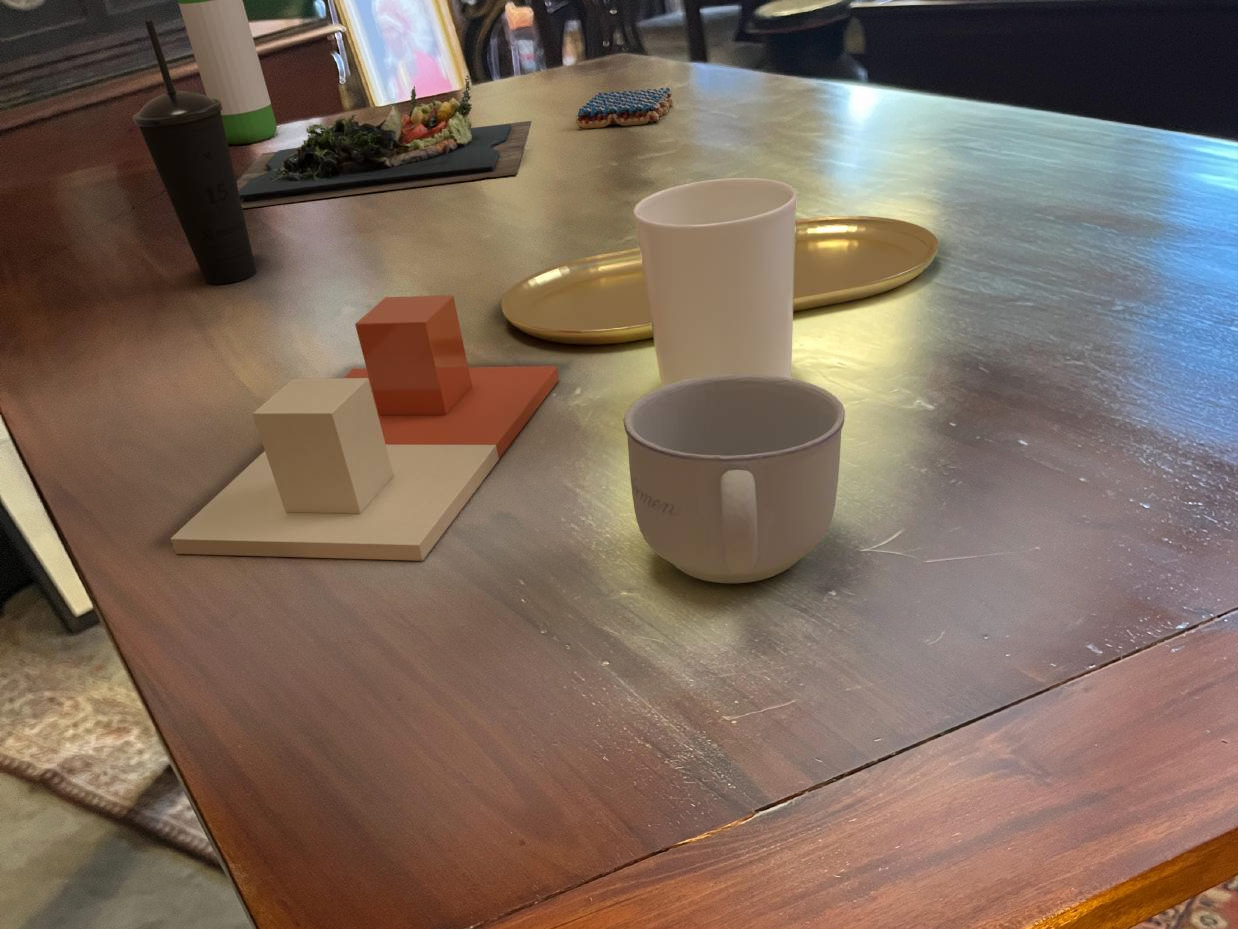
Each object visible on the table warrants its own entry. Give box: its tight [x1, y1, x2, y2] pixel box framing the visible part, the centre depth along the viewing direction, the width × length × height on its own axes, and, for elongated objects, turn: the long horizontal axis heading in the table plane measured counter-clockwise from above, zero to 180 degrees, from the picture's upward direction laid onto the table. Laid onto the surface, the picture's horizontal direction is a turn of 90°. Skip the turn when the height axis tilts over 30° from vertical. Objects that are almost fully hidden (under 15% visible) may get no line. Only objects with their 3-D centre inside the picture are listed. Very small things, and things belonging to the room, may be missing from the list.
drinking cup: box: [132, 19, 257, 286], centre depth 107 cm, size 8×8×20 cm
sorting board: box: [169, 365, 560, 562], centre depth 78 cm, size 16×26×1 cm, turn 166°
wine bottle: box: [177, 0, 277, 146], centre depth 151 cm, size 8×8×30 cm
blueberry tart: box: [574, 87, 674, 129], centre depth 146 cm, size 10×11×2 cm
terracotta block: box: [354, 294, 472, 415], centre depth 81 cm, size 5×5×6 cm
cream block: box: [252, 377, 394, 514], centre depth 71 cm, size 5×5×6 cm
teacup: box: [622, 374, 846, 584], centre depth 61 cm, size 14×11×8 cm
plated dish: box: [236, 74, 532, 209], centre depth 140 cm, size 35×28×7 cm
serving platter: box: [500, 215, 939, 346], centre depth 96 cm, size 19×35×2 cm, turn 103°
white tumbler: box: [632, 177, 798, 387], centre depth 76 cm, size 10×10×12 cm
